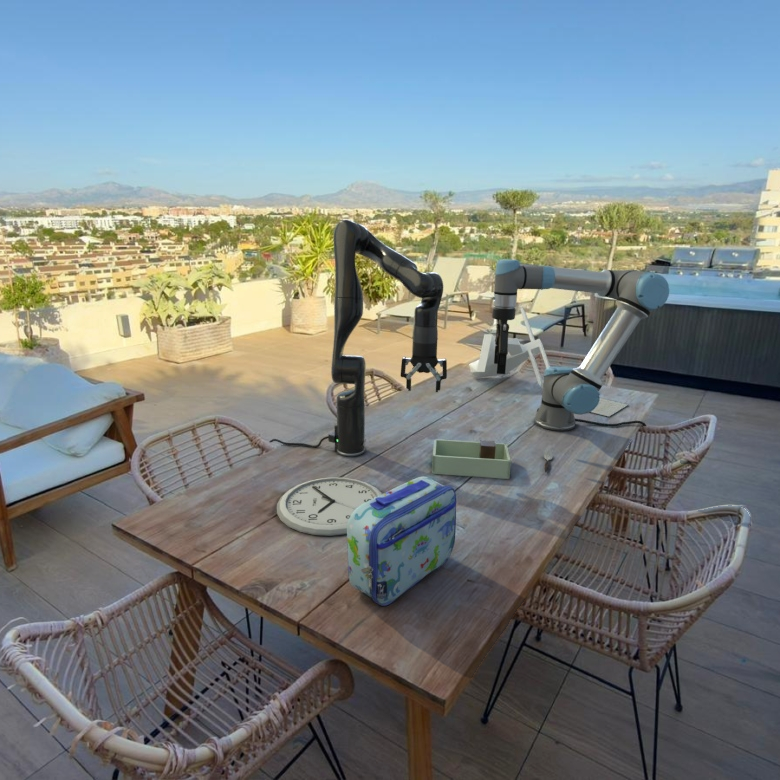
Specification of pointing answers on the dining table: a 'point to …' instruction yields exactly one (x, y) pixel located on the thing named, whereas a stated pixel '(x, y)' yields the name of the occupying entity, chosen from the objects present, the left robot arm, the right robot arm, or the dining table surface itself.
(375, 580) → the lunch box
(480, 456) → the walnut block
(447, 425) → the dining table surface
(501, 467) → the tote
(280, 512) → the wall clock
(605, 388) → the dining table surface
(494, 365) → the white plastic object
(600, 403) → the invitation card
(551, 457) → the fork
